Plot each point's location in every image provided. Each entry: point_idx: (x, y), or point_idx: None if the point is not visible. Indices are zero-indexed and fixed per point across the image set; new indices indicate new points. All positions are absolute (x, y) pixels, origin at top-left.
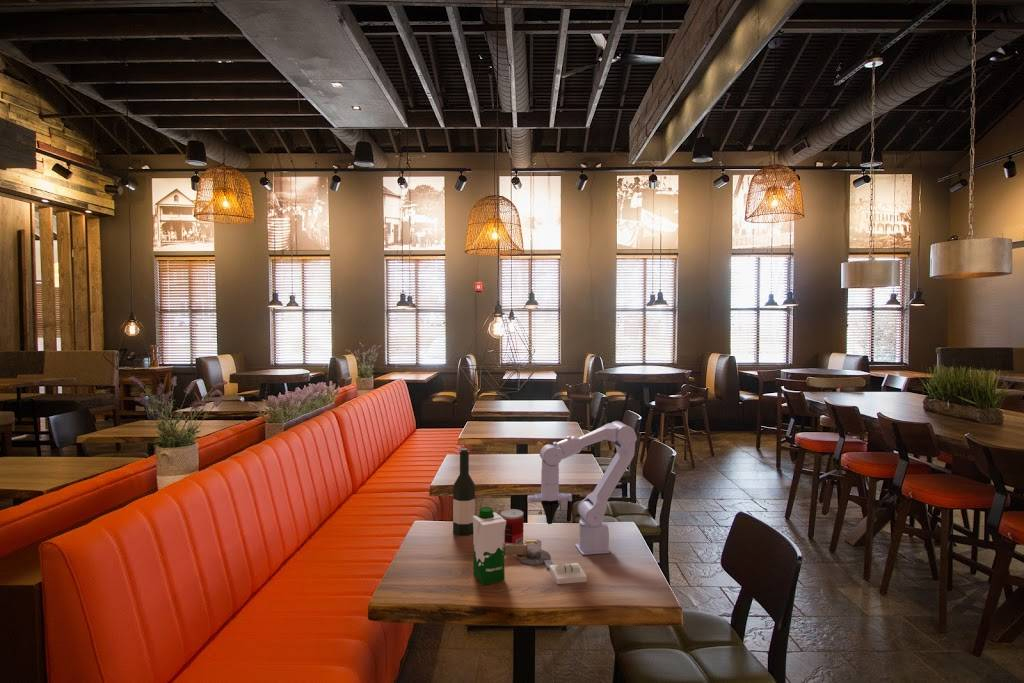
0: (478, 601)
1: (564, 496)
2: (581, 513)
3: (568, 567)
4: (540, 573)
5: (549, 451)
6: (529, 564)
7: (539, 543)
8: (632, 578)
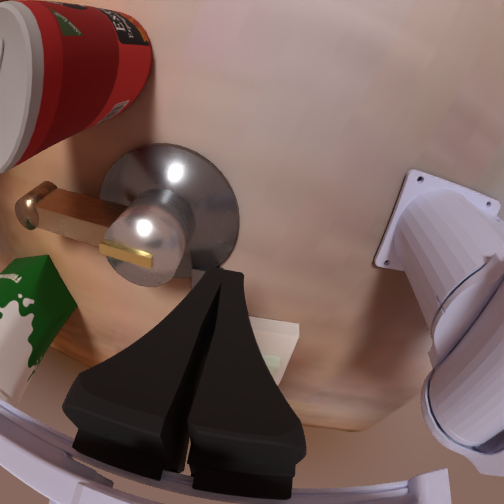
0: None
1: None
2: (478, 351)
3: None
4: (168, 313)
5: None
6: None
7: (163, 278)
8: (387, 382)
